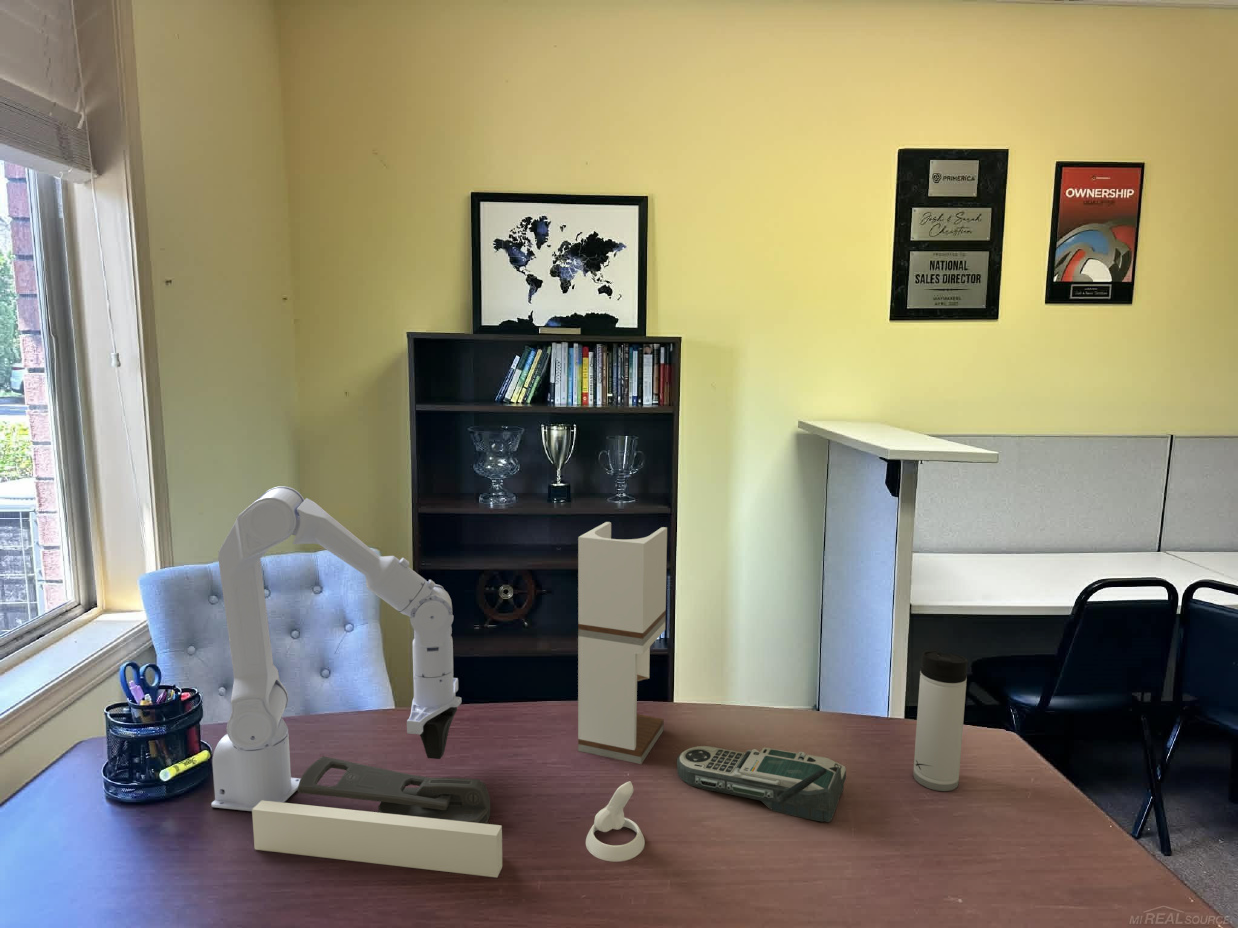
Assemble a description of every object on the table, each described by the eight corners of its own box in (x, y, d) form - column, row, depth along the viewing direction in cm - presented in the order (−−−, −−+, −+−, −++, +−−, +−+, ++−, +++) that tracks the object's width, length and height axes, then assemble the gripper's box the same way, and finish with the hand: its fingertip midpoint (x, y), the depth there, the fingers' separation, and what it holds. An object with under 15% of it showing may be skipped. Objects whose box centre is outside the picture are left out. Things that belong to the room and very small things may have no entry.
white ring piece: (633, 852, 88) (595, 803, 91) (605, 888, 96) (570, 842, 99) (675, 813, 93) (637, 768, 96) (645, 850, 101) (611, 807, 104)
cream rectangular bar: (254, 849, 96) (252, 809, 95) (273, 829, 100) (271, 791, 99) (497, 877, 91) (496, 835, 91) (507, 855, 95) (506, 815, 95)
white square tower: (641, 763, 117) (644, 543, 112) (578, 750, 121) (578, 536, 116) (663, 730, 128) (667, 527, 123) (605, 719, 131) (606, 521, 126)
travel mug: (912, 787, 111) (921, 658, 108) (913, 765, 117) (922, 642, 114) (959, 797, 109) (969, 665, 106) (957, 773, 115) (967, 648, 112)
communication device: (694, 752, 122) (695, 700, 121) (846, 789, 111) (848, 732, 110) (664, 789, 111) (665, 732, 110) (829, 834, 101) (832, 772, 99)
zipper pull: (319, 752, 107) (494, 756, 106) (321, 795, 108) (495, 800, 107) (290, 788, 98) (481, 792, 98) (292, 835, 99) (482, 840, 99)
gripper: (440, 693, 103) (442, 785, 105) (476, 652, 118) (477, 734, 120) (391, 689, 105) (394, 780, 106) (433, 649, 119) (435, 730, 121)
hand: (435, 756), depth 113 cm, fingers closed
